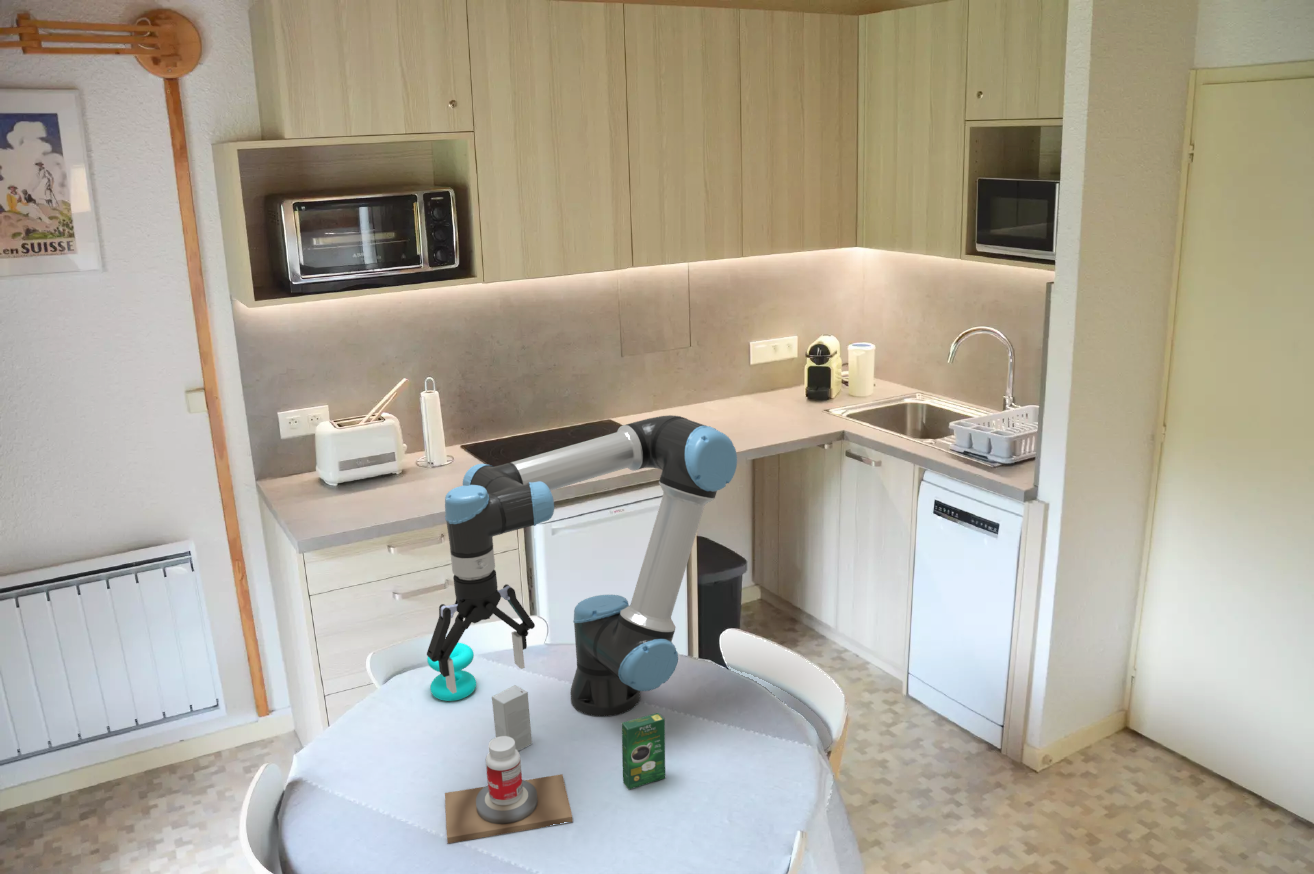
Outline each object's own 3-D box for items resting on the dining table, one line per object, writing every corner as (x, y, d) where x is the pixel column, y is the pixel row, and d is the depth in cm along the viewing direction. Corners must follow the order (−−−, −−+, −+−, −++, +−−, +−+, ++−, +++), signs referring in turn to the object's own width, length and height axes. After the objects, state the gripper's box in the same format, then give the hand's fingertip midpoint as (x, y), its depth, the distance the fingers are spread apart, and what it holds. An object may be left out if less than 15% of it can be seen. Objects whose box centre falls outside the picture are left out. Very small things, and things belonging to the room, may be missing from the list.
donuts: (432, 640, 231) (476, 639, 231) (436, 680, 234) (480, 679, 233) (422, 662, 221) (468, 661, 221) (426, 704, 224) (472, 703, 224)
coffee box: (660, 770, 198) (658, 710, 195) (667, 778, 196) (665, 717, 192) (622, 782, 195) (619, 721, 191) (628, 791, 193) (625, 729, 189)
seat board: (562, 779, 197) (561, 766, 196) (572, 822, 184) (571, 808, 184) (445, 798, 192) (443, 785, 191) (447, 843, 180) (445, 829, 179)
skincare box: (519, 736, 211) (515, 684, 208) (532, 744, 208) (528, 691, 205) (495, 748, 207) (490, 695, 204) (508, 757, 204) (503, 703, 201)
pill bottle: (485, 791, 189) (480, 739, 186) (517, 782, 191) (512, 729, 188) (494, 810, 184) (490, 756, 180) (527, 800, 186) (523, 747, 183)
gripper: (415, 599, 174) (429, 709, 180) (546, 559, 187) (556, 663, 193) (399, 584, 180) (414, 691, 186) (527, 546, 193) (537, 648, 199)
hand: (486, 677), depth 190 cm, fingers open, 13 cm apart
